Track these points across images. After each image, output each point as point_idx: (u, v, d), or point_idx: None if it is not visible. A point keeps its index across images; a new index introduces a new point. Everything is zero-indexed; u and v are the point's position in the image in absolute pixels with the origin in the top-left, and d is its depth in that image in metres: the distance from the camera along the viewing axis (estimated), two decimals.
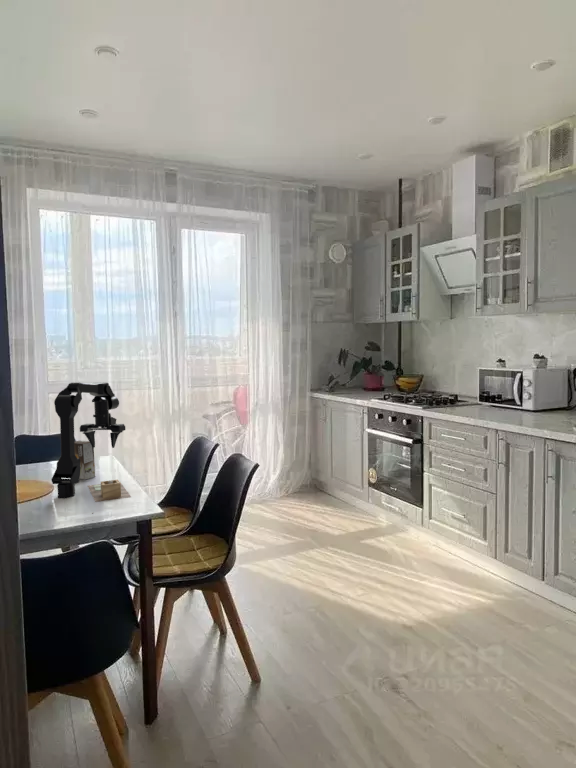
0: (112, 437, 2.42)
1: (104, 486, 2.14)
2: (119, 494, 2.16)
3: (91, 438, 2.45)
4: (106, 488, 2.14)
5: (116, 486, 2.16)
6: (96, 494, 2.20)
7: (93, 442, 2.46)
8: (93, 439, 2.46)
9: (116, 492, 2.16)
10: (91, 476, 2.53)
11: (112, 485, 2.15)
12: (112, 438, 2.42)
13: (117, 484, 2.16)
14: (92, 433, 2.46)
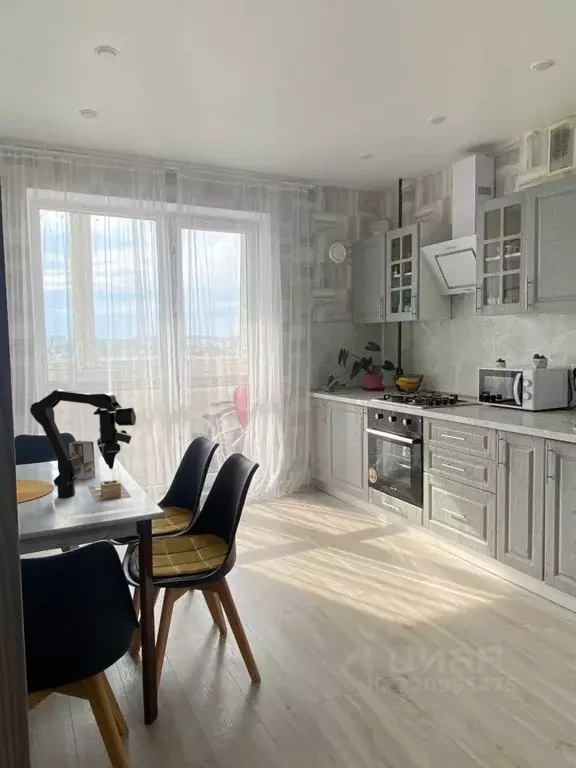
0: (104, 457, 2.11)
1: (104, 486, 2.14)
2: (119, 494, 2.16)
3: None
4: (106, 488, 2.14)
5: (116, 486, 2.16)
6: (96, 494, 2.20)
7: None
8: None
9: (116, 492, 2.16)
10: (91, 476, 2.53)
11: (112, 485, 2.15)
12: (105, 458, 2.11)
13: (117, 484, 2.16)
14: None
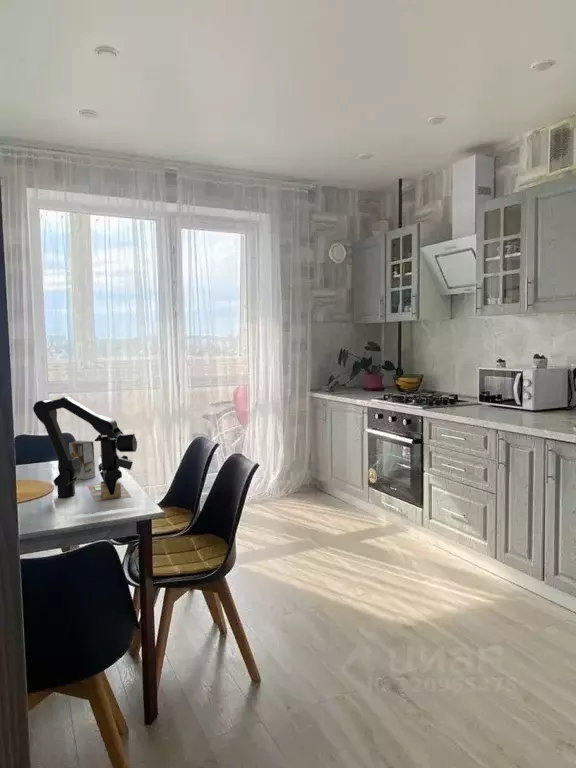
0: None
1: (104, 486, 2.14)
2: (119, 494, 2.16)
3: None
4: (106, 488, 2.14)
5: (116, 486, 2.16)
6: (96, 494, 2.20)
7: None
8: None
9: (116, 492, 2.16)
10: (91, 476, 2.53)
11: None
12: (106, 484, 2.13)
13: (117, 484, 2.16)
14: None
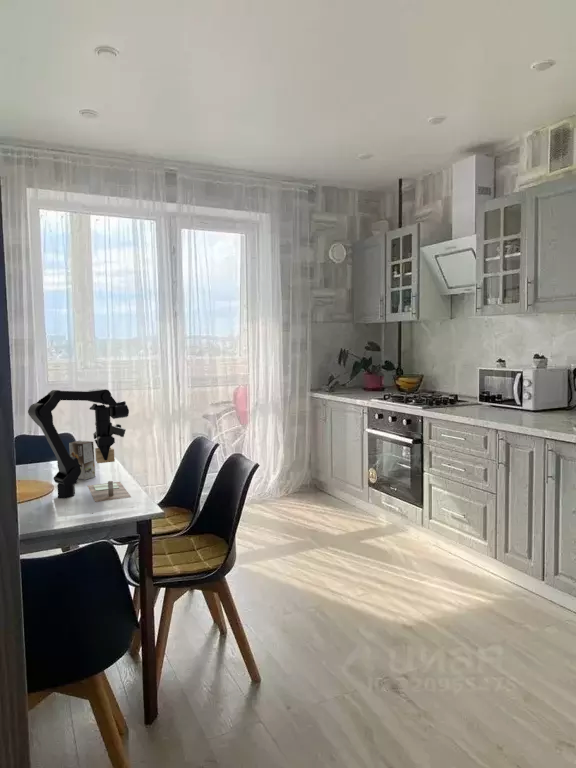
0: (99, 448, 2.24)
1: (98, 452, 2.25)
2: (113, 460, 2.28)
3: None
4: (100, 454, 2.26)
5: (110, 452, 2.27)
6: (96, 494, 2.20)
7: None
8: None
9: (110, 457, 2.27)
10: (91, 476, 2.53)
11: None
12: (100, 450, 2.24)
13: (111, 450, 2.27)
14: None
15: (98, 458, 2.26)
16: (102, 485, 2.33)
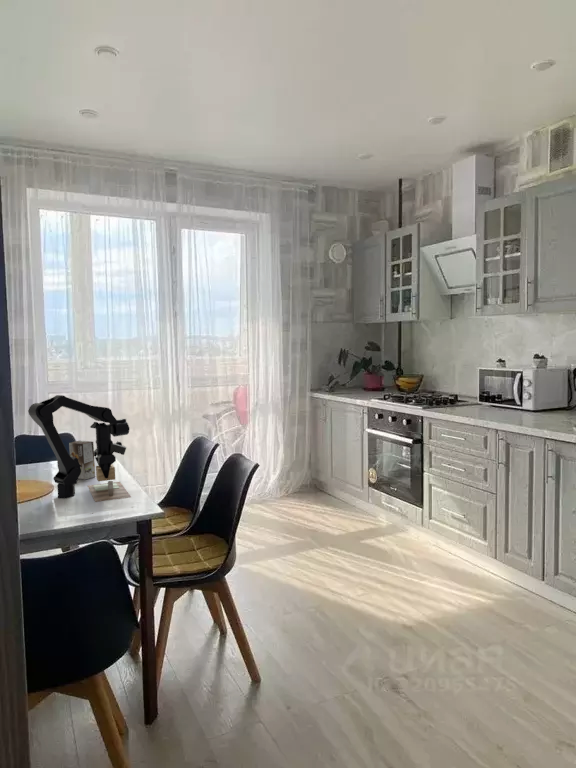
0: (100, 467, 2.25)
1: (99, 470, 2.26)
2: (113, 478, 2.29)
3: None
4: (101, 472, 2.26)
5: (110, 470, 2.28)
6: (96, 494, 2.20)
7: None
8: None
9: (111, 475, 2.28)
10: (91, 476, 2.53)
11: None
12: None
13: (111, 468, 2.28)
14: None
15: (99, 476, 2.26)
16: (102, 485, 2.33)
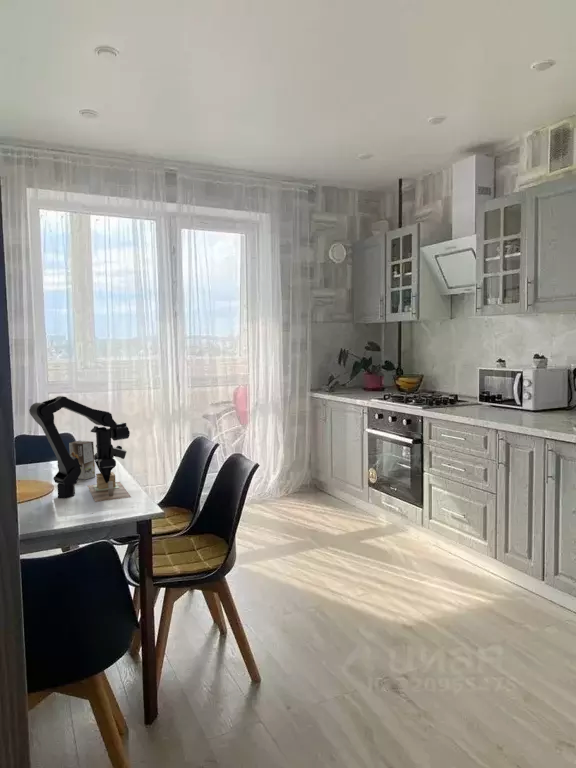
0: (101, 471, 2.24)
1: (99, 478, 2.26)
2: (114, 485, 2.29)
3: None
4: (101, 480, 2.27)
5: (111, 478, 2.28)
6: (96, 494, 2.20)
7: None
8: None
9: None
10: (91, 476, 2.53)
11: None
12: None
13: (112, 476, 2.28)
14: None
15: (99, 484, 2.26)
16: None
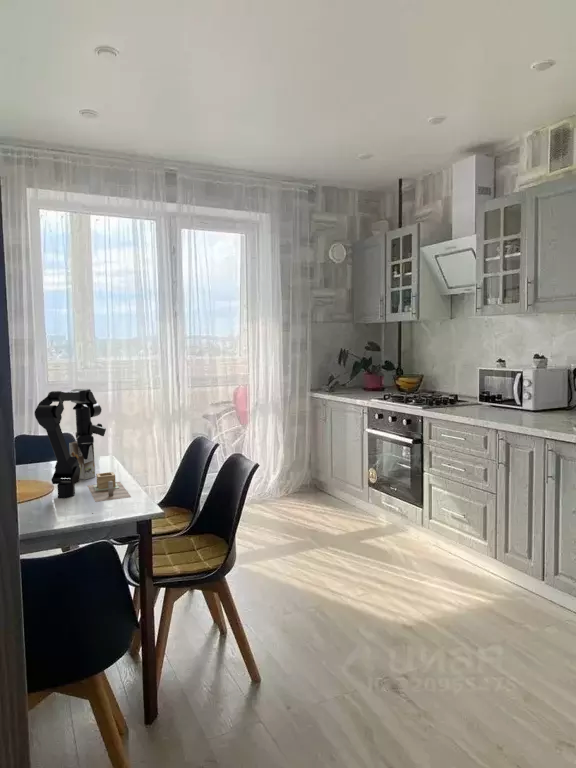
0: (79, 448, 2.27)
1: (99, 478, 2.26)
2: (114, 485, 2.29)
3: None
4: (101, 480, 2.27)
5: (111, 478, 2.28)
6: (96, 494, 2.20)
7: None
8: None
9: None
10: (91, 476, 2.53)
11: (107, 477, 2.28)
12: None
13: (112, 476, 2.28)
14: None
15: (99, 484, 2.26)
16: None
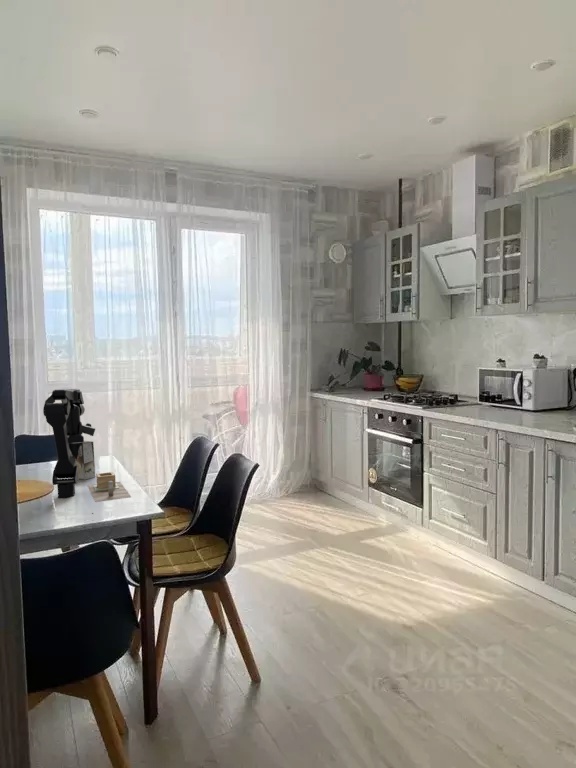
0: (69, 448, 2.28)
1: (99, 478, 2.26)
2: (114, 485, 2.29)
3: None
4: (101, 480, 2.27)
5: (111, 478, 2.28)
6: (96, 494, 2.20)
7: None
8: None
9: None
10: (91, 476, 2.53)
11: (107, 477, 2.28)
12: None
13: (112, 476, 2.28)
14: None
15: (99, 484, 2.26)
16: None
